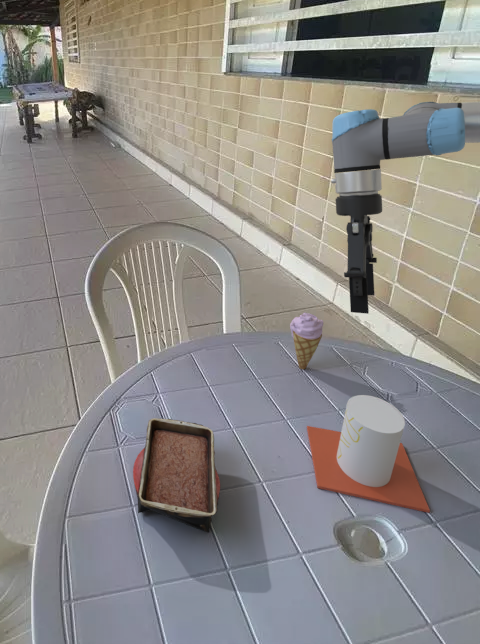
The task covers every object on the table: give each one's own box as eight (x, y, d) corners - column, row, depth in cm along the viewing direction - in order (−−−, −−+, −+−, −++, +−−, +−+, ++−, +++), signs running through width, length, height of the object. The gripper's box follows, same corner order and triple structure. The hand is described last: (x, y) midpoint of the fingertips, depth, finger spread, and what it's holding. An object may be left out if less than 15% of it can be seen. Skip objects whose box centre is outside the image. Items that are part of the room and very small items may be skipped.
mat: (401, 445, 78) (402, 443, 78) (429, 513, 67) (430, 510, 67) (306, 427, 83) (307, 425, 83) (317, 488, 72) (317, 485, 71)
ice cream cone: (286, 373, 97) (293, 318, 92) (284, 356, 103) (290, 303, 98) (318, 378, 95) (327, 322, 90) (314, 360, 101) (322, 306, 95)
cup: (337, 439, 80) (347, 389, 75) (389, 456, 76) (403, 405, 71) (335, 473, 73) (345, 421, 69) (391, 495, 69) (406, 440, 65)
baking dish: (222, 469, 78) (221, 421, 76) (218, 561, 62) (216, 503, 60) (146, 456, 83) (142, 411, 81) (123, 539, 66) (118, 484, 64)
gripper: (344, 192, 93) (348, 287, 94) (324, 199, 73) (331, 319, 74) (385, 189, 88) (389, 289, 89) (376, 195, 68) (382, 323, 70)
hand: (363, 303), depth 82 cm, fingers open, 13 cm apart
